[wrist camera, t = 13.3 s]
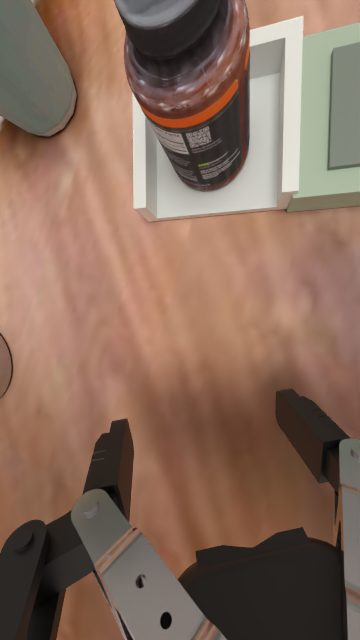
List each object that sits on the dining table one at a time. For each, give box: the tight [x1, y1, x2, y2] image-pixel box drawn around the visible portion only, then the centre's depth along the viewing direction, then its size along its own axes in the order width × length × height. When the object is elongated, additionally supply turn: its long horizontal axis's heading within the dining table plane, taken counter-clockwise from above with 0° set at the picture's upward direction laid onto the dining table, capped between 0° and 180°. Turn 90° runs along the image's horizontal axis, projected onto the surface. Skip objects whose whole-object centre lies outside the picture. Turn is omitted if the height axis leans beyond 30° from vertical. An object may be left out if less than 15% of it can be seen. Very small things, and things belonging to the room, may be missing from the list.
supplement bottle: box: [114, 0, 250, 190], centre depth 14 cm, size 6×6×11 cm
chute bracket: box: [133, 16, 303, 222], centre depth 18 cm, size 12×10×3 cm
